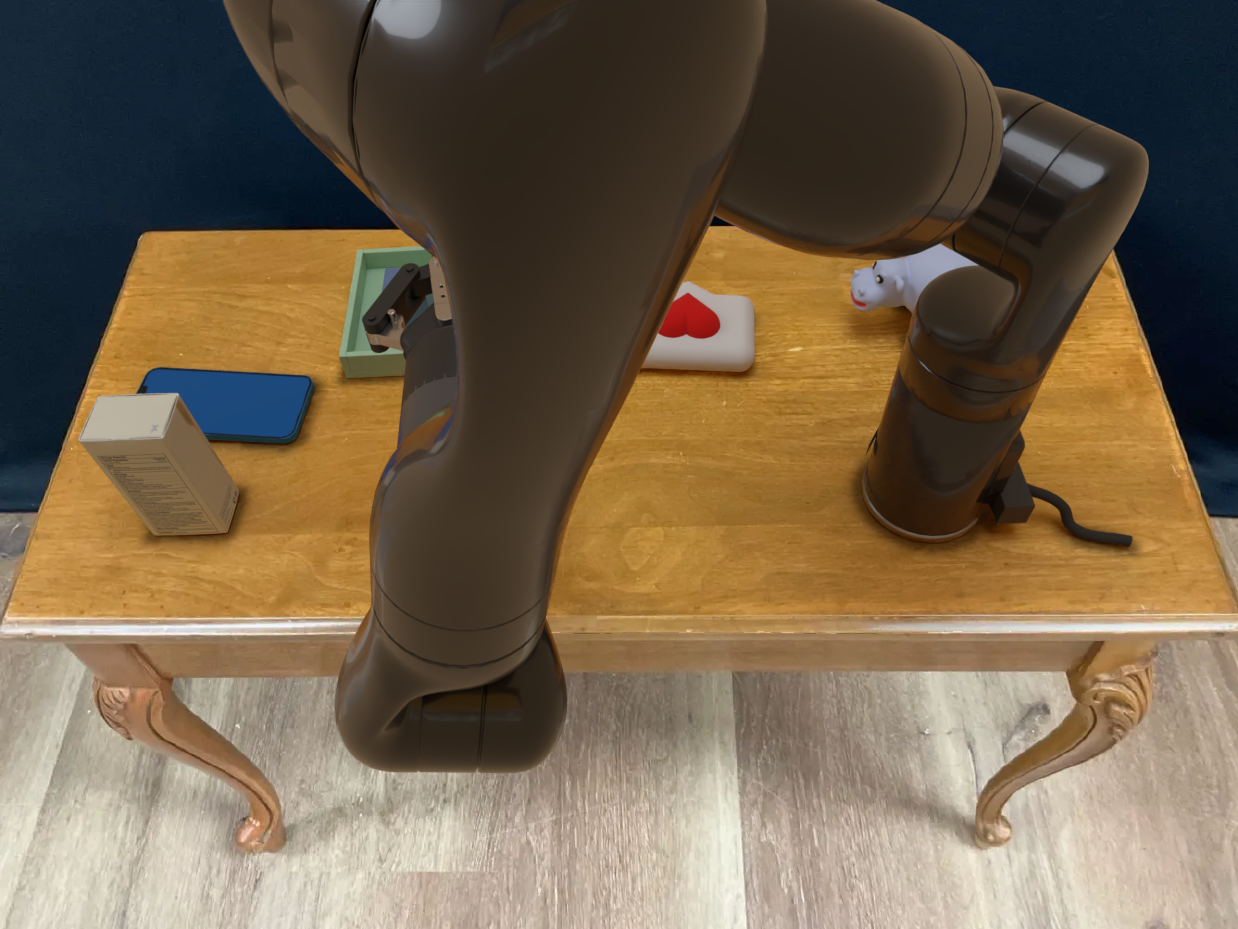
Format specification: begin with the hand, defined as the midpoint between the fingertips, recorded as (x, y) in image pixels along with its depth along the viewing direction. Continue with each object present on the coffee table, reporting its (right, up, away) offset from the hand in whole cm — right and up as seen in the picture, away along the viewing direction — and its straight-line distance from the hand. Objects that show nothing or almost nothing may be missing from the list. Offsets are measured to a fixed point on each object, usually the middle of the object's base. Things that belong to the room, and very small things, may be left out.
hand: (476, 231), depth 66 cm
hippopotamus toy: (+38, -3, +23) cm, 44 cm away
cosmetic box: (-24, -20, +12) cm, 34 cm away
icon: (+16, -4, +23) cm, 28 cm away
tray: (-9, -2, +25) cm, 27 cm away
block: (-9, -2, +24) cm, 26 cm away
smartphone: (-25, -11, +19) cm, 33 cm away
